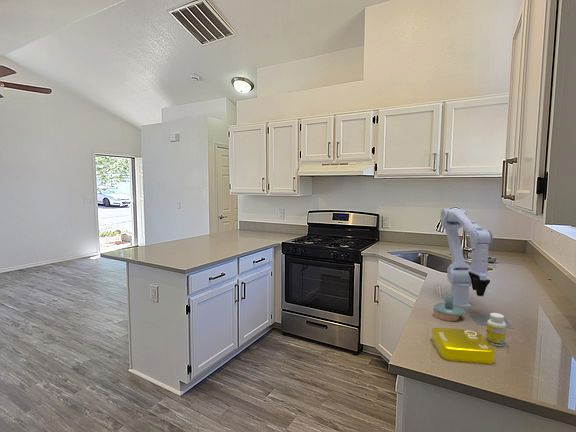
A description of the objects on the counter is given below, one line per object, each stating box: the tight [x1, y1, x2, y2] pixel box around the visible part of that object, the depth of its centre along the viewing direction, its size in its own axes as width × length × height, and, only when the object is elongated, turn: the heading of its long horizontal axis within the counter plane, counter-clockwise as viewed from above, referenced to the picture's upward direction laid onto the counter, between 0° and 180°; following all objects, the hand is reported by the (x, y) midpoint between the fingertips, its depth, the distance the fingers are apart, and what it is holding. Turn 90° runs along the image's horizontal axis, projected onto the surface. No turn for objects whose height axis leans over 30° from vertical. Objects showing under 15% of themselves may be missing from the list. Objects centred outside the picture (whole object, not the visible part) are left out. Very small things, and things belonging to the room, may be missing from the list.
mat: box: [470, 312, 515, 330], centre depth 126 cm, size 12×12×1 cm
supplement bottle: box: [486, 312, 507, 347], centre depth 108 cm, size 5×5×10 cm
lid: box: [433, 294, 465, 317], centre depth 129 cm, size 11×11×6 cm
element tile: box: [431, 327, 495, 365], centre depth 104 cm, size 15×15×5 cm
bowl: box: [432, 309, 460, 322], centre depth 130 cm, size 9×9×3 cm
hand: (477, 292), depth 130 cm, fingers open, 7 cm apart
